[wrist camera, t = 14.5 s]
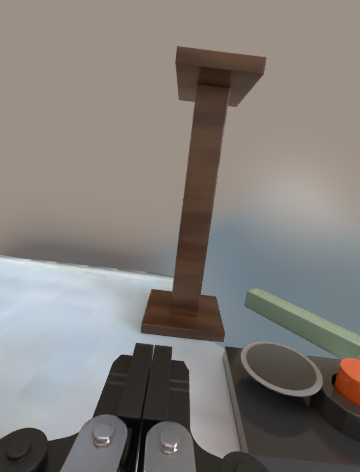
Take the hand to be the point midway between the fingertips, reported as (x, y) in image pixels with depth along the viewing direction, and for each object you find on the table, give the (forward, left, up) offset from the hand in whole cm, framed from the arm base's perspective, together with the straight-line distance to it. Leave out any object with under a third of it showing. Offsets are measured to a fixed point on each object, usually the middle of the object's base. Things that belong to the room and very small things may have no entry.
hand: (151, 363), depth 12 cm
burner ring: (+2, +16, -8) cm, 18 cm away
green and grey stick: (+4, +32, -10) cm, 33 cm away
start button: (+8, +18, -9) cm, 22 cm away
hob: (+5, +17, -12) cm, 21 cm away
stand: (-12, +22, -12) cm, 28 cm away
